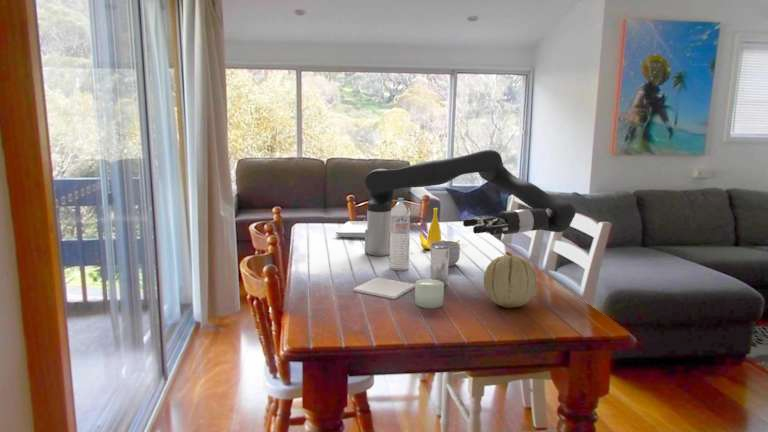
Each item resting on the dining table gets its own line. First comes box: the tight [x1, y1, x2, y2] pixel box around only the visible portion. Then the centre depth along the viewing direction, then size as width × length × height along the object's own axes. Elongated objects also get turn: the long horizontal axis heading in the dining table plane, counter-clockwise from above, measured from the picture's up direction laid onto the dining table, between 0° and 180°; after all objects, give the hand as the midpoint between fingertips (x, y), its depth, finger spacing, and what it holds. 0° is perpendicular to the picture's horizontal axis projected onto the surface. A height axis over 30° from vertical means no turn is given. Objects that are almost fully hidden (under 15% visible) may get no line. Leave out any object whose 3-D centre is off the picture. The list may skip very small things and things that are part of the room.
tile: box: [353, 276, 416, 300], centre depth 157 cm, size 14×14×1 cm
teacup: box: [429, 239, 461, 268], centre depth 188 cm, size 14×11×8 cm
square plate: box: [335, 220, 367, 239], centre depth 239 cm, size 27×27×4 cm
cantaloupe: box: [483, 251, 538, 309], centre depth 143 cm, size 15×15×15 cm
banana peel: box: [419, 207, 461, 250], centre depth 213 cm, size 17×19×17 cm
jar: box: [414, 278, 445, 309], centre depth 144 cm, size 8×8×6 cm
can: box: [429, 245, 449, 287], centre depth 163 cm, size 6×6×12 cm
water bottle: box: [389, 197, 411, 272], centre depth 178 cm, size 7×7×25 cm
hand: (468, 226), depth 162 cm, fingers open, 8 cm apart
